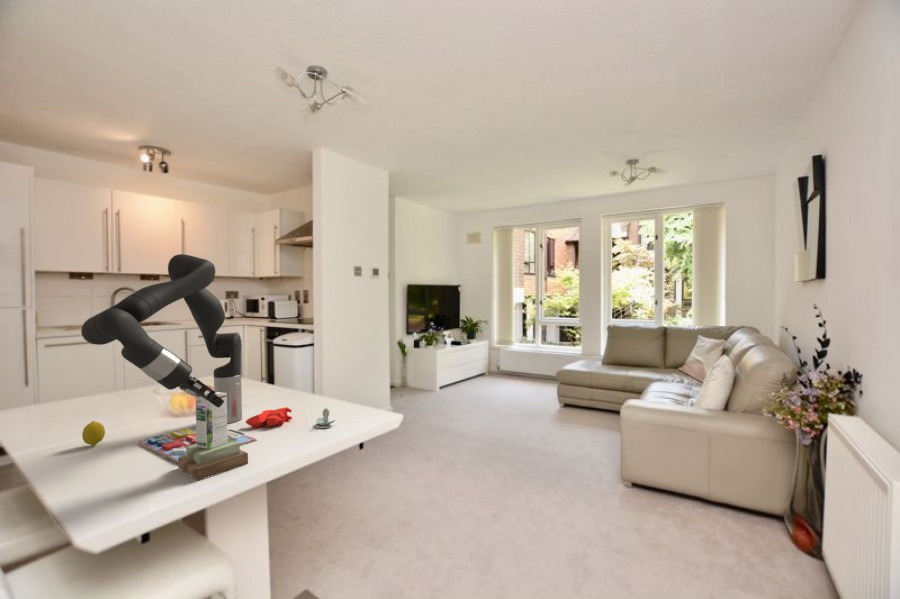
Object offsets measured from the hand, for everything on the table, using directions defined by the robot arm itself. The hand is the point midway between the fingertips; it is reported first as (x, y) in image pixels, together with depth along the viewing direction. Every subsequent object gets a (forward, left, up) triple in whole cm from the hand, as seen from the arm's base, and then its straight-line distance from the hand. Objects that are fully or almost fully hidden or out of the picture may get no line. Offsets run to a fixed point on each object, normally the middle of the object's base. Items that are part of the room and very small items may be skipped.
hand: (214, 402), depth 116 cm
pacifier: (-4, +38, -18) cm, 43 cm away
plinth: (0, -1, -18) cm, 18 cm away
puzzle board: (-24, +5, -19) cm, 31 cm away
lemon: (-49, -17, -18) cm, 55 cm away
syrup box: (0, -1, -12) cm, 12 cm away
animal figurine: (-22, +28, -18) cm, 40 cm away
